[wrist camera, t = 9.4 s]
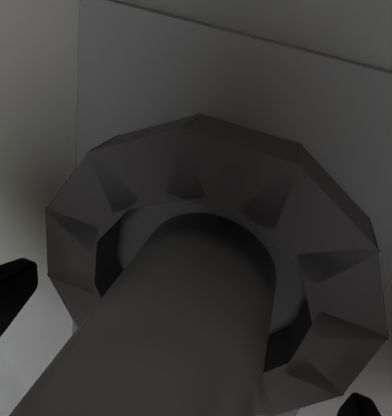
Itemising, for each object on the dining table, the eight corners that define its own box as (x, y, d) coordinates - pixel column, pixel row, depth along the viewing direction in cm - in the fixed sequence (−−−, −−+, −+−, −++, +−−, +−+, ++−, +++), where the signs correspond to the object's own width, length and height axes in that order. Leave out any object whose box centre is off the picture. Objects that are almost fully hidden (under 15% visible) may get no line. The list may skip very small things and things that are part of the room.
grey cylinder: (253, 341, 12) (175, 739, 5) (137, 294, 13) (-61, 593, 6) (300, 242, 10) (266, 736, 3) (154, 191, 10) (-141, 494, 4)
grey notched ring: (283, 412, 15) (278, 475, 13) (84, 326, 16) (50, 370, 14) (492, 97, 8) (560, 123, 6) (100, -4, 9) (36, -14, 7)
